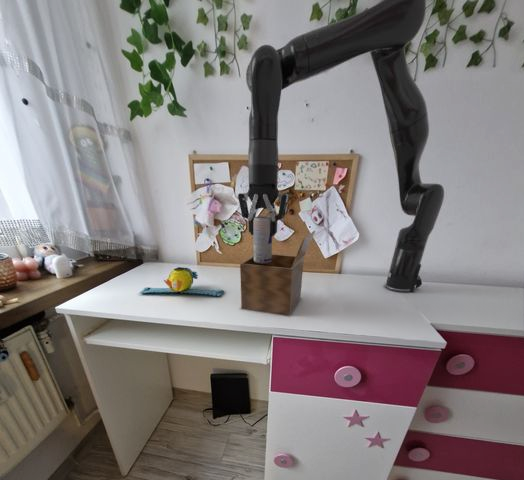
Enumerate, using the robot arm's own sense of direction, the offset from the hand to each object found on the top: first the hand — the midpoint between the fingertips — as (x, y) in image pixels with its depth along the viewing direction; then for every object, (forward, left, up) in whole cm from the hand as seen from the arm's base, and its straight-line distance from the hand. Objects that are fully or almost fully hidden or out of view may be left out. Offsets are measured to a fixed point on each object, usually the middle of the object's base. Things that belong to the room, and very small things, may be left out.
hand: (262, 235), depth 78 cm
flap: (-12, 0, -3) cm, 12 cm away
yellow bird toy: (+29, +1, -20) cm, 36 cm away
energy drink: (0, 0, -8) cm, 8 cm away
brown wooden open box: (-3, 0, -20) cm, 21 cm away
